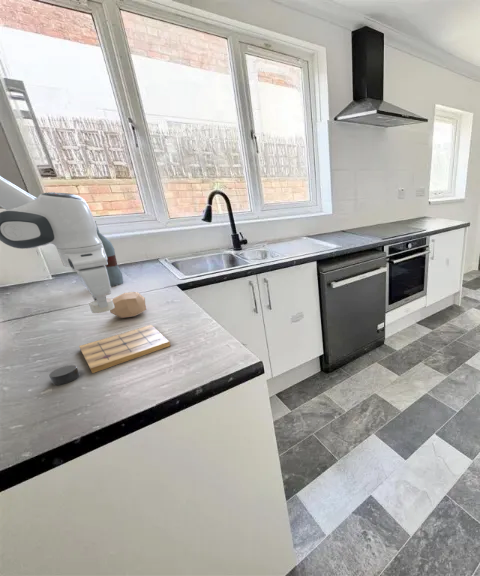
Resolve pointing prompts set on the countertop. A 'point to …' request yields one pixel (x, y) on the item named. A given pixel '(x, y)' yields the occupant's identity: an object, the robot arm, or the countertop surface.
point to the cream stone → (97, 309)
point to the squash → (128, 305)
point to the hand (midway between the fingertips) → (101, 303)
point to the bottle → (111, 261)
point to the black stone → (64, 375)
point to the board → (122, 347)
